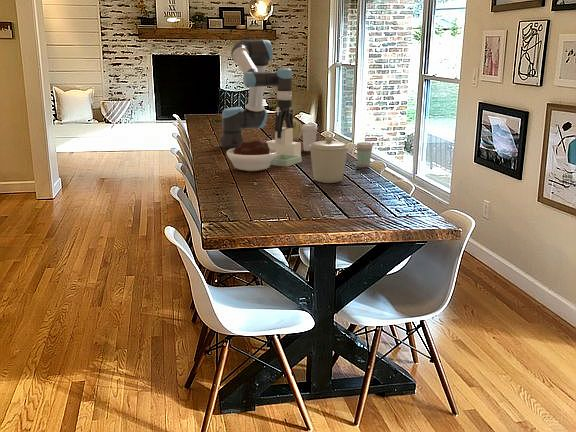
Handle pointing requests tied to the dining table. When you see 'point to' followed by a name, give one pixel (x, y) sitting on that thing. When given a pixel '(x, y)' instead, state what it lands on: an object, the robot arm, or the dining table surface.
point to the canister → (328, 160)
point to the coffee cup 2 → (364, 154)
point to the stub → (286, 136)
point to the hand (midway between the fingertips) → (284, 143)
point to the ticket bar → (286, 148)
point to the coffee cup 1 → (308, 135)
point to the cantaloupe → (295, 129)
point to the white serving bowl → (252, 156)
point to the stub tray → (286, 160)
